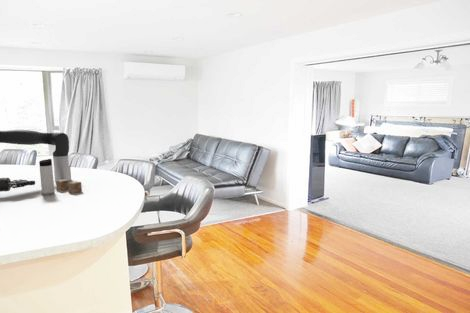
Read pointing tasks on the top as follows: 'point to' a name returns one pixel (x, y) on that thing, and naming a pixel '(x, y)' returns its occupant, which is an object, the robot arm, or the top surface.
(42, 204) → the top surface
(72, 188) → the walnut block one
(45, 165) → the travel mug
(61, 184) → the walnut block two
